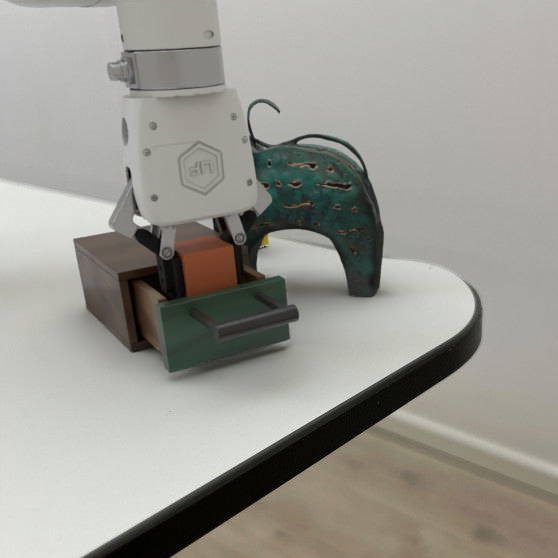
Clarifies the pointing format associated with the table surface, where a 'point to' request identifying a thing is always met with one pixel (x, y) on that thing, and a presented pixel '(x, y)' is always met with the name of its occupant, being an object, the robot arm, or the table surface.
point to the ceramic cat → (319, 203)
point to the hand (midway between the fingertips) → (204, 290)
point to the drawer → (212, 319)
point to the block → (206, 264)
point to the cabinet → (123, 276)
